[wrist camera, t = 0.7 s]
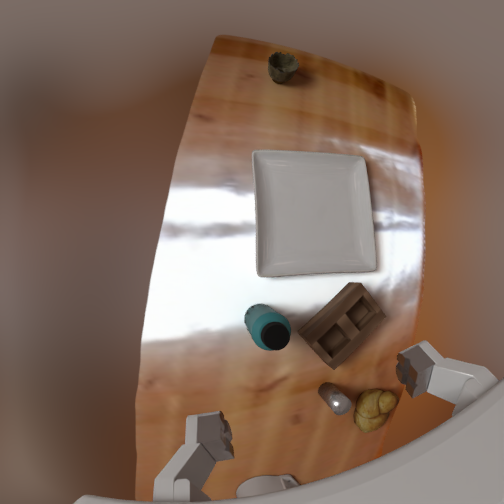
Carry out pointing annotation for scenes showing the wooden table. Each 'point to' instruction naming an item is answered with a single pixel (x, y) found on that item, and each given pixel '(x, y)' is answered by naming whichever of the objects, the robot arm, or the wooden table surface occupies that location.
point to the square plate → (312, 213)
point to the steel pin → (334, 398)
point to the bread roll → (374, 409)
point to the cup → (282, 67)
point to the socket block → (342, 324)
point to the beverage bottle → (267, 327)
